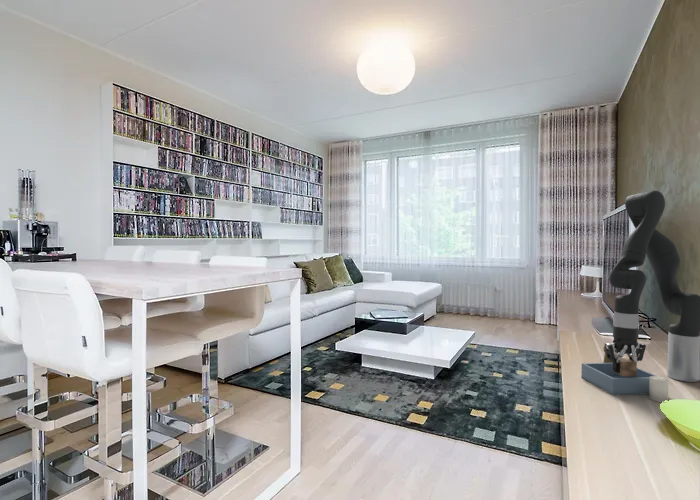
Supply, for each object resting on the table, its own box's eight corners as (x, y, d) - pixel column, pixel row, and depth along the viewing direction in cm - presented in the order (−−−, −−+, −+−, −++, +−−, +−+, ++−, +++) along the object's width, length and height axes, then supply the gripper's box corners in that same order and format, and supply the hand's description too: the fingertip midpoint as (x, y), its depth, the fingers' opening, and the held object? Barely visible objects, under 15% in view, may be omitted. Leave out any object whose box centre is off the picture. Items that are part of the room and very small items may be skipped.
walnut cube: (625, 371, 142) (626, 357, 142) (636, 376, 137) (636, 362, 137) (612, 371, 142) (612, 357, 142) (622, 376, 137) (623, 362, 137)
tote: (624, 376, 152) (625, 362, 152) (661, 393, 136) (661, 377, 135) (581, 377, 151) (581, 363, 151) (612, 394, 135) (613, 379, 134)
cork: (611, 375, 154) (612, 347, 153) (598, 370, 159) (598, 343, 159) (623, 374, 155) (624, 346, 155) (609, 369, 161) (610, 342, 161)
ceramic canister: (659, 396, 134) (659, 375, 134) (671, 402, 129) (672, 381, 129) (645, 396, 133) (645, 376, 133) (657, 402, 128) (658, 381, 128)
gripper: (636, 322, 143) (635, 368, 143) (599, 322, 142) (597, 368, 143) (653, 327, 135) (652, 375, 136) (614, 327, 135) (612, 376, 135)
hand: (624, 372), depth 139 cm, fingers closed on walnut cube, 5 cm apart
